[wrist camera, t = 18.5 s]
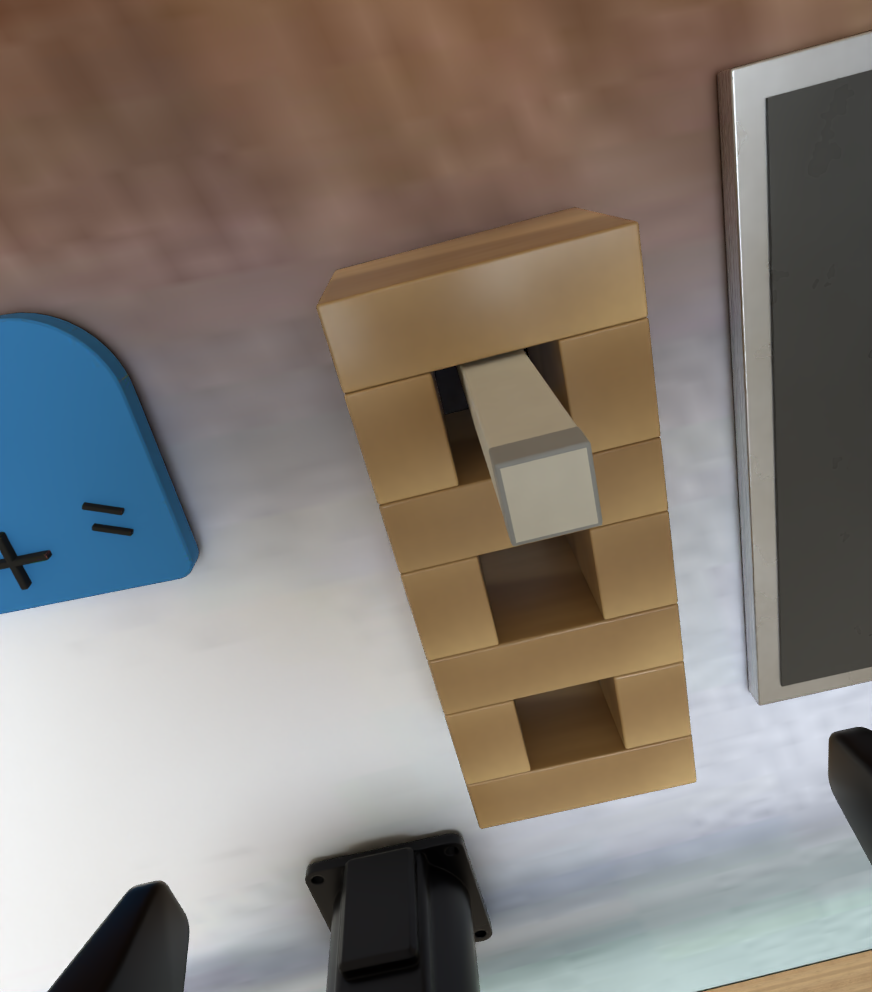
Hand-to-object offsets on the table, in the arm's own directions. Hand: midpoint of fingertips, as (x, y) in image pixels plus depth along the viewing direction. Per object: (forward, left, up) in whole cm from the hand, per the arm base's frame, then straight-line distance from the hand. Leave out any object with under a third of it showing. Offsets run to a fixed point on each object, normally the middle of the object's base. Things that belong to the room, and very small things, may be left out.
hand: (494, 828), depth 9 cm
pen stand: (-2, -2, -13) cm, 13 cm away
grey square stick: (+3, -2, -13) cm, 13 cm away
